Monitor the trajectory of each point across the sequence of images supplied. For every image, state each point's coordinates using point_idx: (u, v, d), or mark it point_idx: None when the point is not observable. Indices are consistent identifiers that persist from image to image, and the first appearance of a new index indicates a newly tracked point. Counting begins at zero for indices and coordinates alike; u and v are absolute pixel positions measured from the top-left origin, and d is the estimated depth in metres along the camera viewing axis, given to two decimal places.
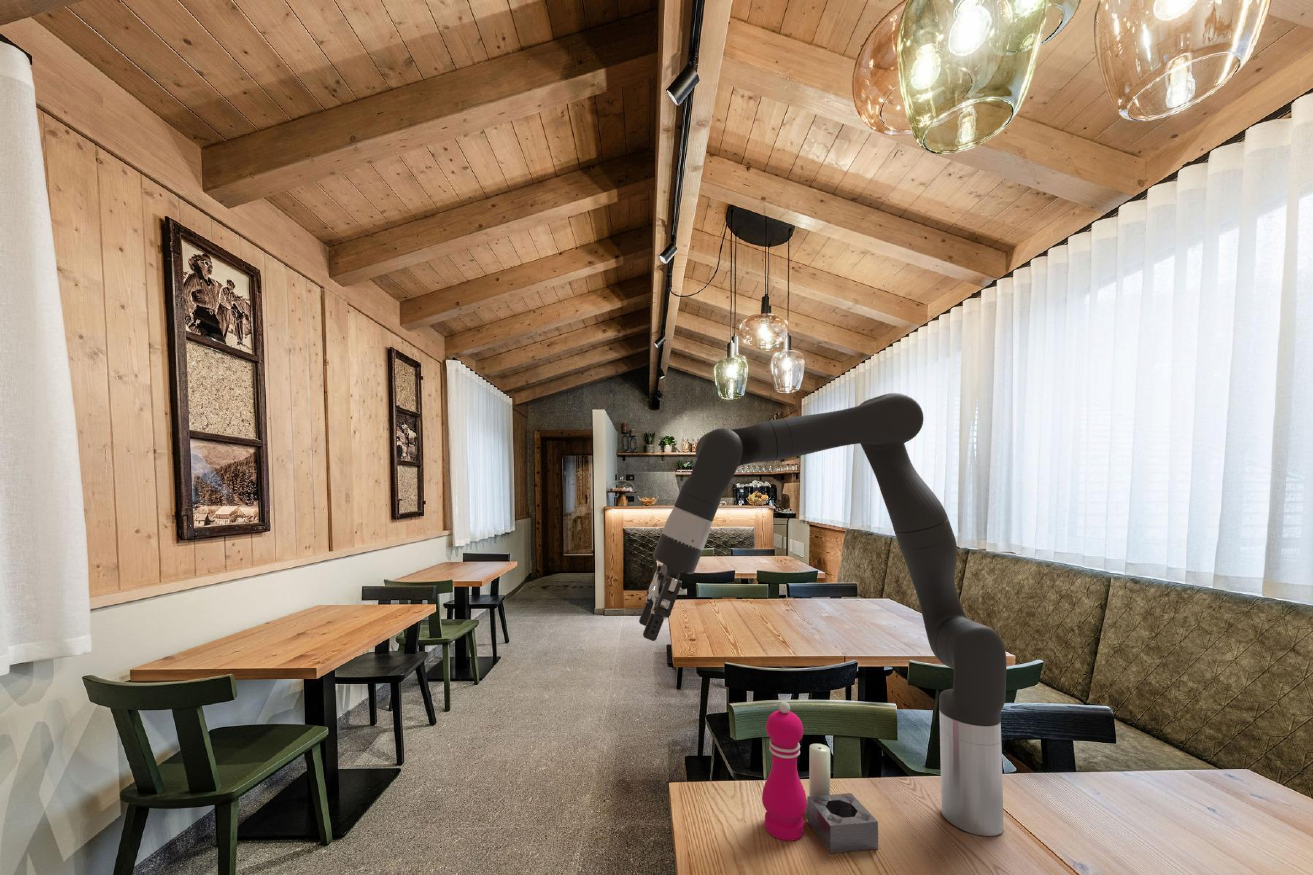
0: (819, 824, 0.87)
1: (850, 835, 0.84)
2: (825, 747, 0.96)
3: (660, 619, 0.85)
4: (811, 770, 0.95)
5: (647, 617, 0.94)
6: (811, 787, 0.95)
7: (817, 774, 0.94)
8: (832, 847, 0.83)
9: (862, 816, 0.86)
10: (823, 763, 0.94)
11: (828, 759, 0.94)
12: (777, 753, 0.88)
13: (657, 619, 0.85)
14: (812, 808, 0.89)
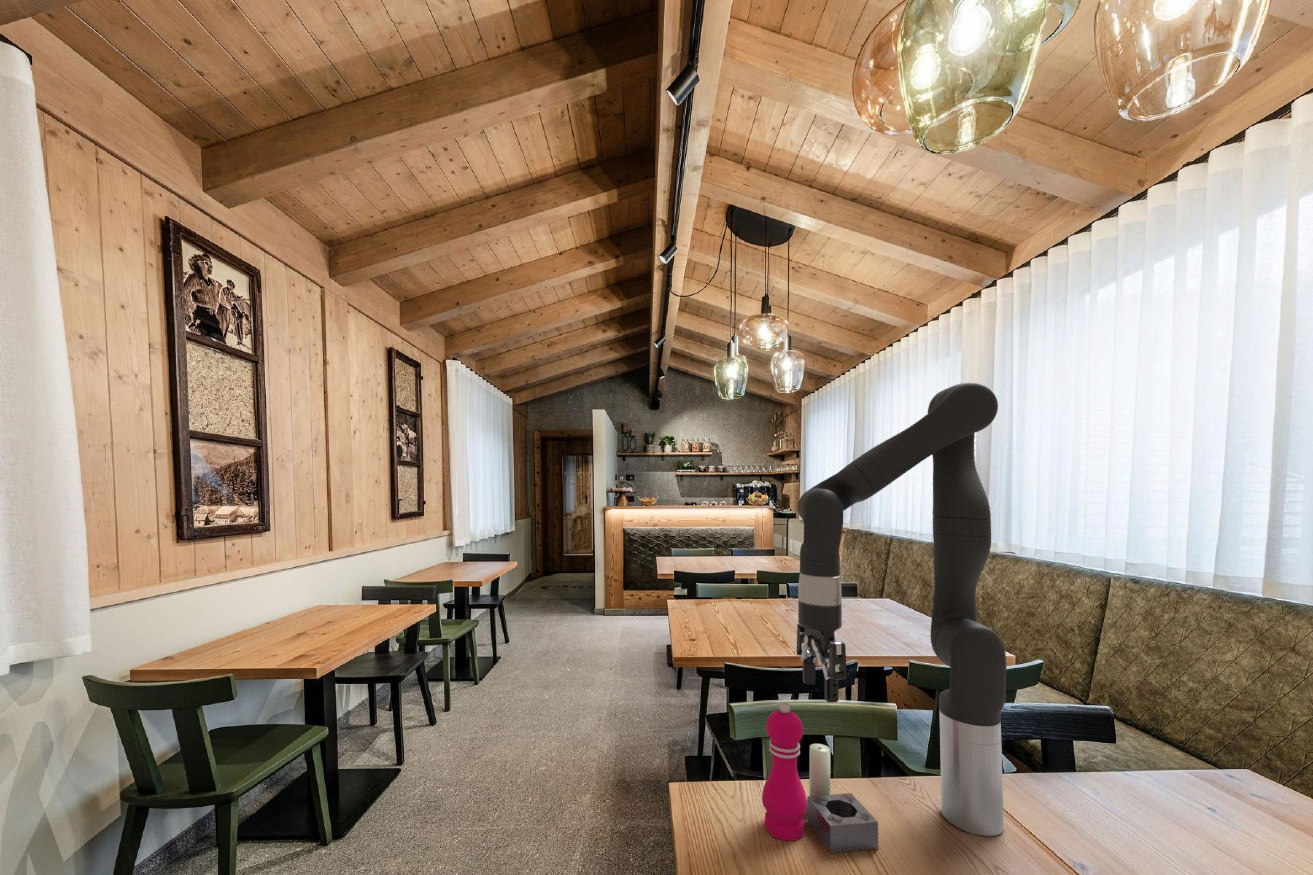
0: (819, 824, 0.87)
1: (850, 835, 0.84)
2: (825, 747, 0.96)
3: (837, 681, 0.92)
4: (811, 770, 0.95)
5: (809, 676, 1.01)
6: (811, 787, 0.95)
7: (818, 774, 0.94)
8: (832, 847, 0.83)
9: (862, 816, 0.86)
10: (823, 764, 0.94)
11: (828, 759, 0.94)
12: (777, 753, 0.88)
13: (834, 682, 0.92)
14: (812, 808, 0.89)
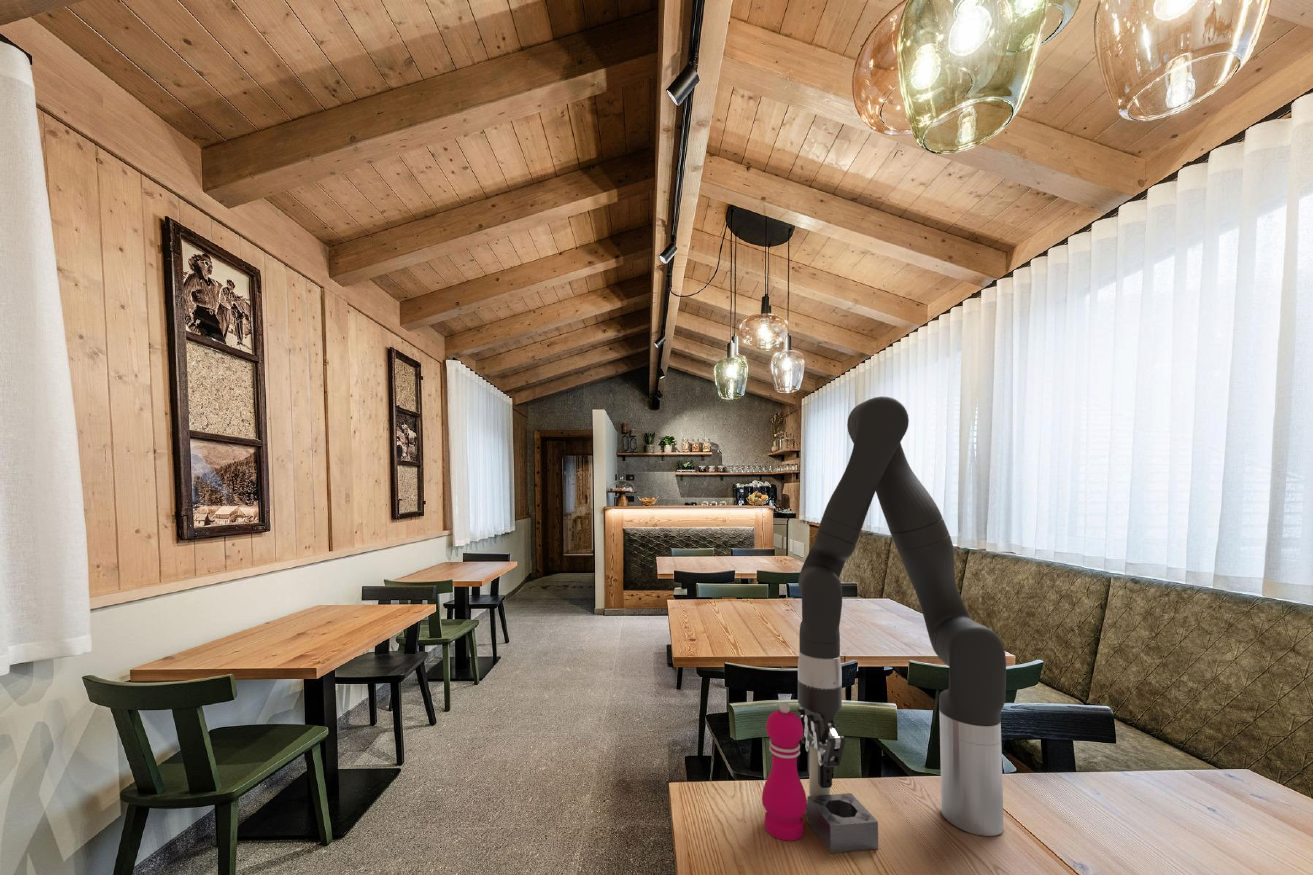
0: (819, 824, 0.87)
1: (850, 835, 0.84)
2: None
3: (830, 767, 0.93)
4: (811, 770, 0.95)
5: None
6: (811, 787, 0.95)
7: None
8: (832, 847, 0.83)
9: (862, 816, 0.86)
10: None
11: None
12: (777, 753, 0.88)
13: (827, 768, 0.93)
14: (812, 808, 0.89)
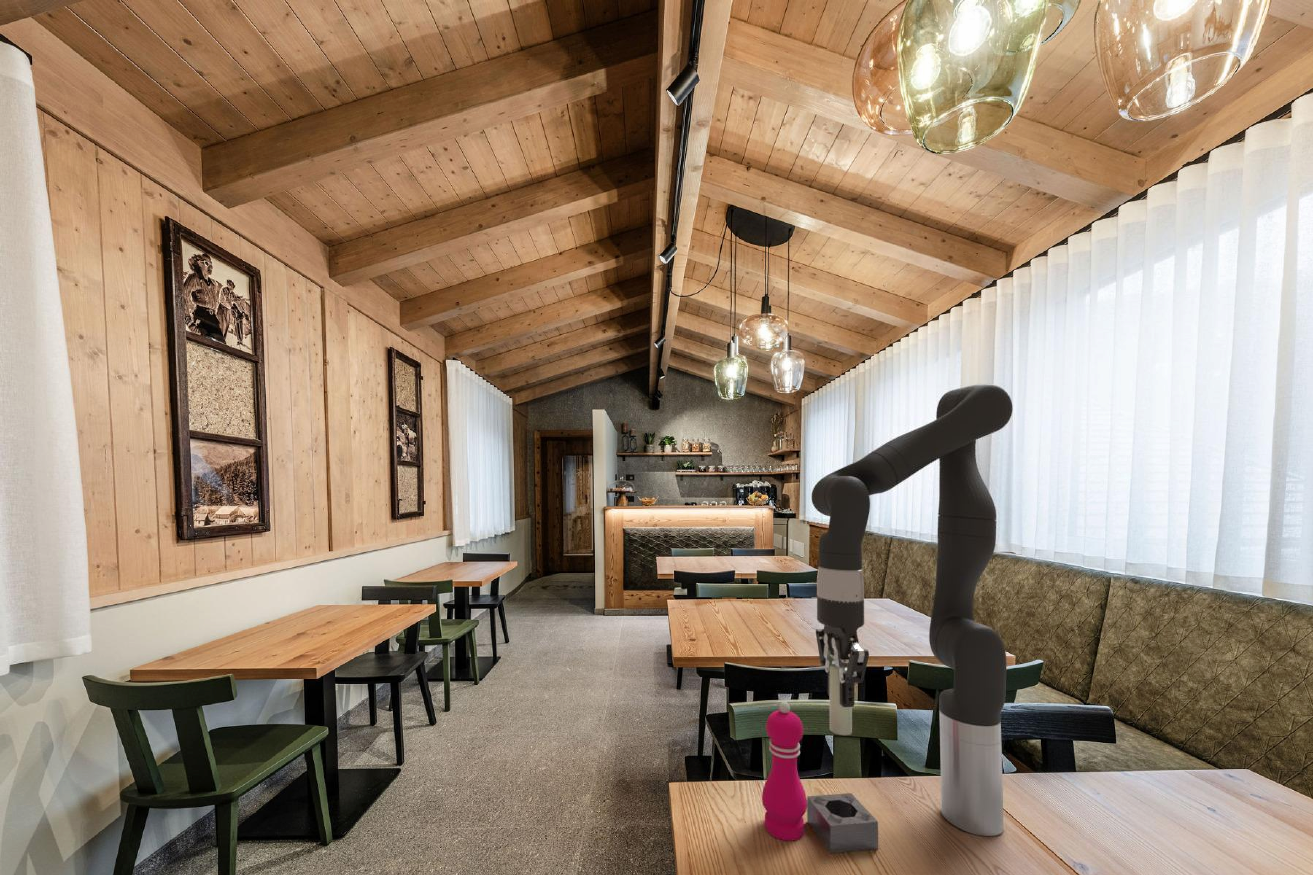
0: (819, 824, 0.87)
1: (850, 835, 0.84)
2: None
3: (852, 685, 0.87)
4: (831, 690, 0.89)
5: None
6: (831, 708, 0.89)
7: (839, 693, 0.88)
8: (832, 847, 0.83)
9: (862, 816, 0.86)
10: None
11: None
12: (777, 753, 0.88)
13: (850, 686, 0.87)
14: (812, 808, 0.89)
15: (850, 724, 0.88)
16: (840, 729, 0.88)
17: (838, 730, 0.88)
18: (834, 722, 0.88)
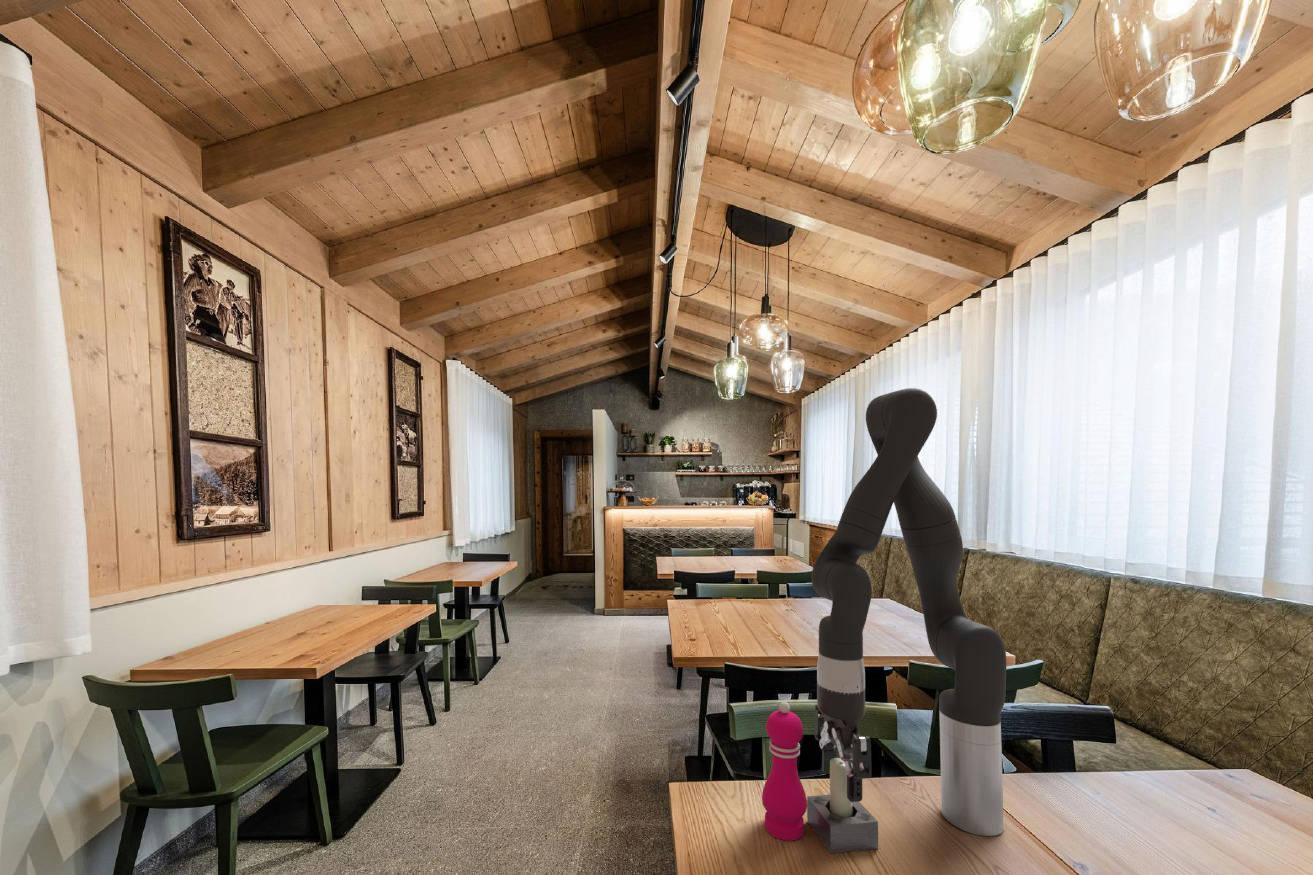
0: (819, 824, 0.87)
1: (850, 835, 0.84)
2: None
3: (860, 779, 0.84)
4: (832, 787, 0.88)
5: None
6: (832, 805, 0.88)
7: (839, 791, 0.87)
8: (832, 847, 0.83)
9: (862, 816, 0.86)
10: (845, 780, 0.87)
11: None
12: (777, 753, 0.88)
13: (857, 780, 0.84)
14: (812, 808, 0.89)
15: None
16: None
17: None
18: None
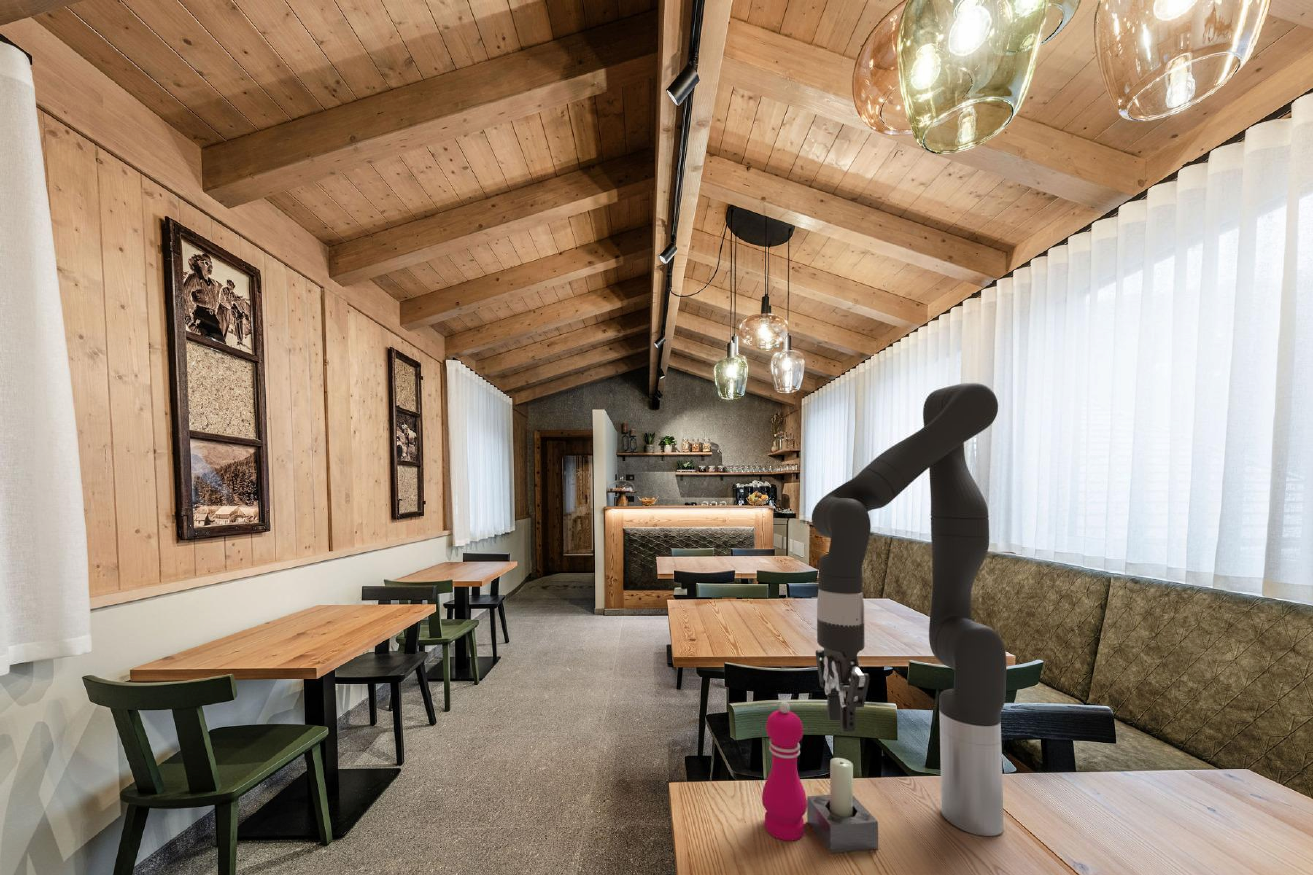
0: (819, 824, 0.87)
1: (850, 835, 0.84)
2: (847, 762, 0.89)
3: (853, 709, 0.86)
4: (832, 787, 0.88)
5: (835, 711, 0.91)
6: (832, 805, 0.88)
7: (839, 791, 0.87)
8: (832, 847, 0.83)
9: (862, 816, 0.86)
10: (846, 780, 0.87)
11: (851, 775, 0.87)
12: (777, 753, 0.88)
13: (850, 710, 0.86)
14: (812, 808, 0.89)
15: None
16: None
17: None
18: None
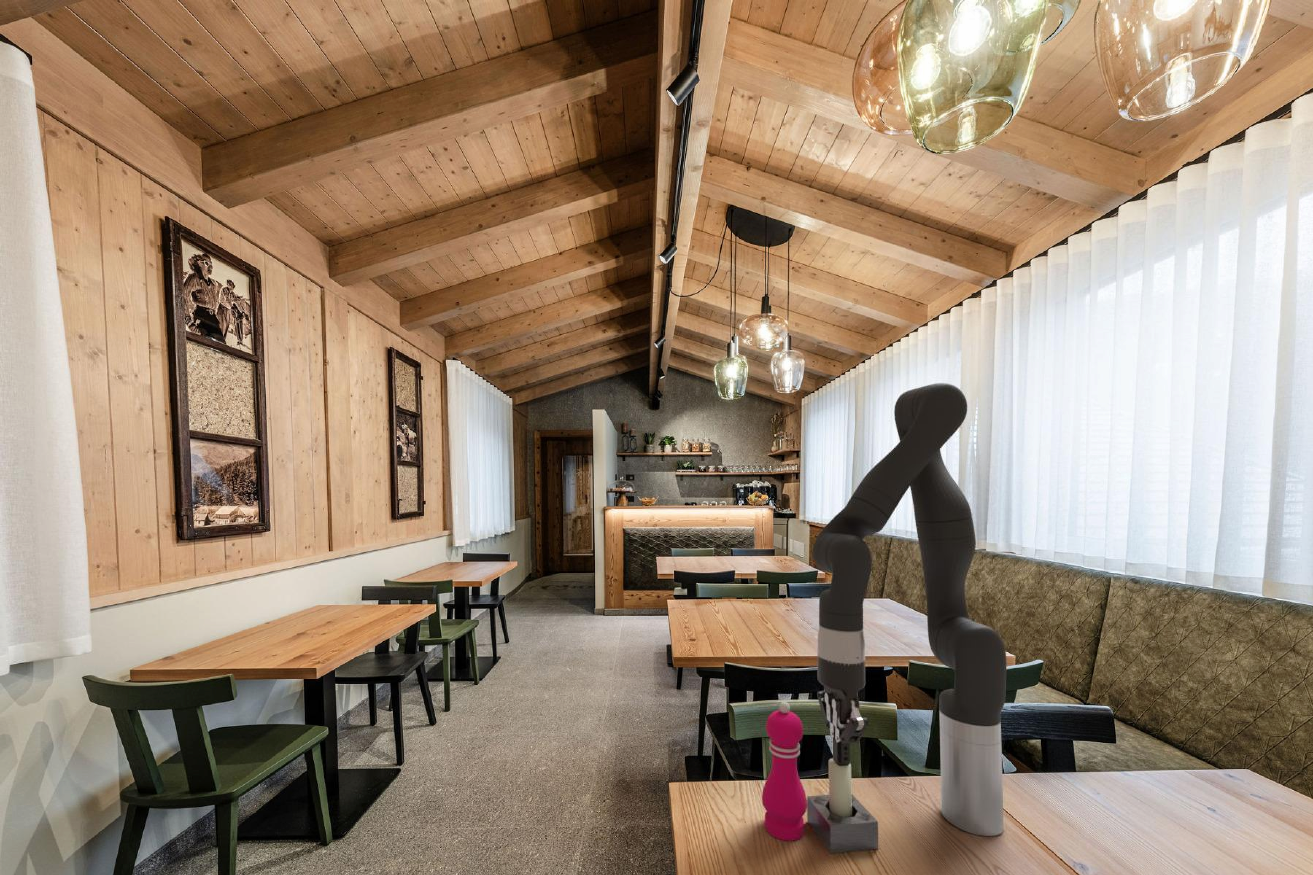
0: (819, 824, 0.87)
1: (850, 835, 0.84)
2: None
3: (848, 744, 0.88)
4: (831, 788, 0.88)
5: None
6: (831, 806, 0.87)
7: (838, 791, 0.87)
8: (832, 847, 0.83)
9: (862, 816, 0.86)
10: (844, 780, 0.87)
11: (849, 775, 0.87)
12: (777, 753, 0.88)
13: (845, 745, 0.88)
14: (812, 808, 0.89)
15: None
16: None
17: None
18: None
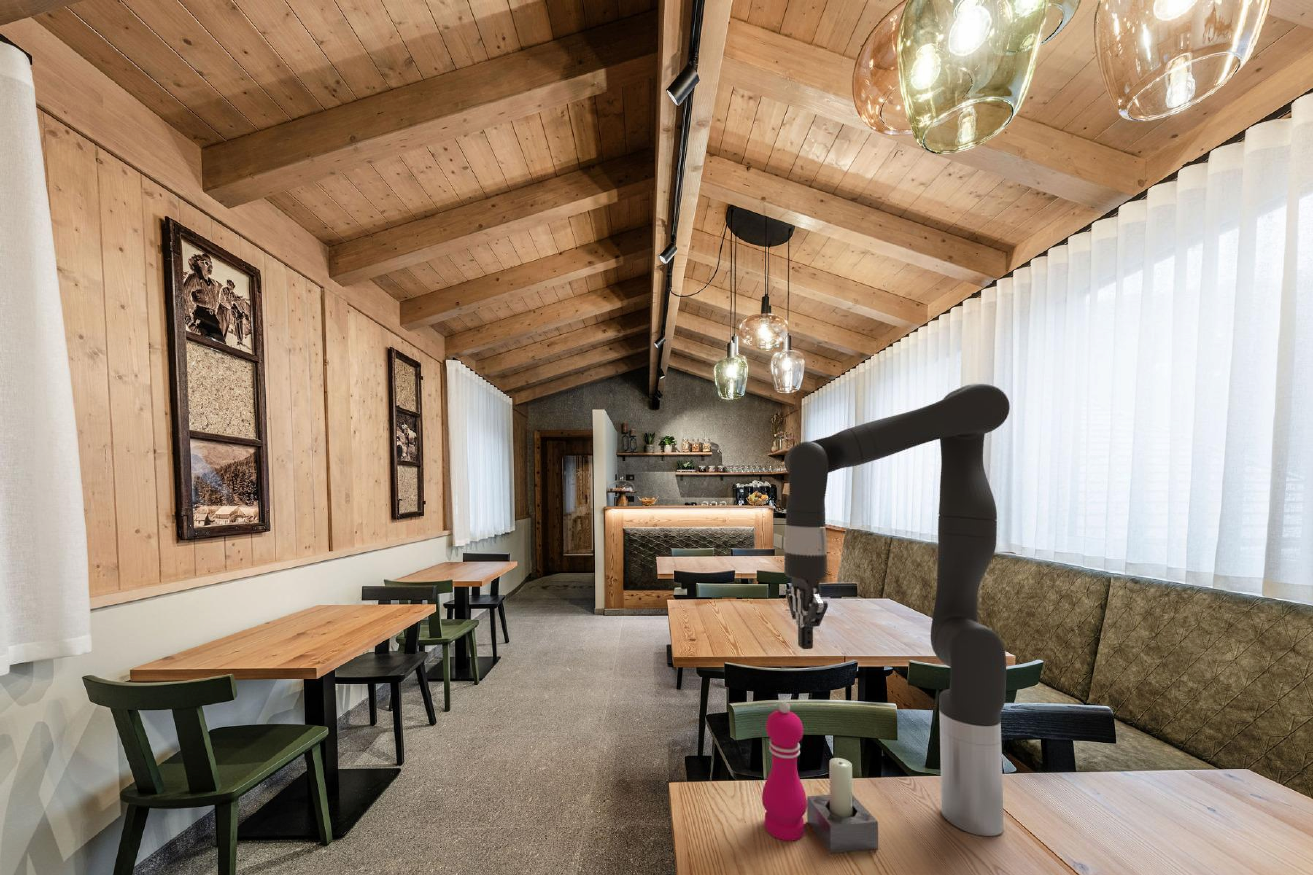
0: (819, 824, 0.87)
1: (850, 835, 0.84)
2: (846, 762, 0.89)
3: (811, 629, 0.97)
4: (832, 788, 0.88)
5: None
6: (832, 806, 0.87)
7: (839, 791, 0.87)
8: (832, 847, 0.83)
9: (862, 816, 0.86)
10: (845, 780, 0.87)
11: (850, 775, 0.87)
12: (777, 753, 0.88)
13: (808, 630, 0.97)
14: (812, 808, 0.89)
15: None
16: None
17: None
18: None
